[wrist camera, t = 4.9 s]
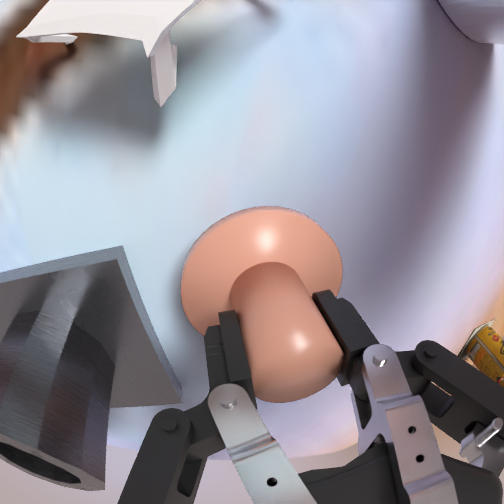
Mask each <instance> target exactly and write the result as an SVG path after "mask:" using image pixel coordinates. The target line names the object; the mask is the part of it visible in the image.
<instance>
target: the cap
mask: <svg viewBox="0 0 504 504" xmlns="http://www.w3.org/2000/svg"><path fill="white" fill-rule="evenodd" d="M341 281H342V260H341V257H340V253H339V251H338V249H337V247H336V244H335V243H334V242H333V240H332V239H331V237H330V236H329V235H328V234H327V233H326V232H325V231H324V230H323V229H322V228H321V227H320V226H319V225H318V224H317V223H316V222H315V221H314V220H312V219H311V218H309V217H308V216H306V215H304V214H302V213H300V212H298V211H295V210H292V209H289V208H284V207H278V206H262V207H253V208H249V209H244V210H241V211H238V212H235V213H233V214H230V215H228V216H226V217H224V218H222V219H221V220H219V221H218V222H216V223H215V224H213V225H212V226H210V227H209V228H208V229H207V230H206V231H205V232H204V233H203V234H202V235H201V236H200V237H199V238H198V239H197V240H196V242H195V243H194V244H193V246H192V248H191V249H190V251H189V253H188V255H187V257H186V259H185V262H184V266H183V269H182V277H181V300H182V305H183V309H184V311H185V314H186V316H187V318H188V320H189V321H190V323H191V324H192V325H193V327H194V328H195V329H196V330H197V331H198V332H199V333H200V334H202V335H203V336H204V335H205V333H206V330H207V328H208V327H209V326H214V325H220V322H219V315H218V312H222V311H228V310H233V309H235V311H236V316H237V320H238V324H239V328H240V332H241V337H242V341H243V345H244V349H245V353H246V357H247V361H248V365H249V369H250V373H251V377H252V382H253V388H254V394H255V396H256V397H257V398H259V399H261V400H263V401H266V402H273V403H284V402H291V401H296V400H299V399H303V398H305V397H308V396H310V395H313V394H315V393H317V392H318V391H320V390H322V389H323V388H325V387H326V386H328V385H329V384H330V383H331V382H332V381H333V380H334V379H335V378H336V377H337V376H338V375H339V373H340V371H341V367H342V363H343V359H344V353H343V352H342V350H341V348H340V346H339V344H338V343H337V341H336V339H335V337H334V336H333V334H332V332H331V330H330V329H329V327H328V325H327V323H326V322H325V320H324V318H323V316H322V315H321V313H320V311H319V309H318V308H317V306H316V304H315V303H314V301H313V299H312V294H313V293H315V292H319V291H323V290H328V289H330V290H331V291H332V293H333V294H334V296H335V297H337V295H338V292H339V289H340V286H341Z"/></svg>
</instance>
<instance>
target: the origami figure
mask: <svg viewBox="0 0 504 504" xmlns="http://www.w3.org/2000/svg"><path fill="white" fill-rule="evenodd" d="M200 1H201V0H50V1H49V2H48V3H47V4H46V5H45V6H44V7H43V8H42V10H41V11H40V12H39V13H38V14H37V15H36V17H35V18H34V19H33V20H32V21H31V23H30V24H29V25H28V26H27V28H25V29H24V30H23V31H22V32H21V33H20V34H19V35H17V36H16V37H20V38H25V39H28V40H29V41H31V42H65V44H66V45H68V44H70V43H72V42H73V41H74V40H75V39H76V38H77V36H73V35H68V34H69V33H80V32H84V33H94V34H103V35H111V36H118V37H124V38H130V39H135V40H141V41H142V42H143V45H144V48H145V52H146V55H147V58H148V57H150V60H151V74H152V83H153V92H154V99H155V100H156V102H157V103H158V104H159V106H160V107H162V106H163V104H164V103H165V102H166V100H167V99H168V98H169V96H170V95H171V94H172V92H173V91H174V90H175V89H176V73H177V50H178V47H177V46H176V45H174V44H172V45H171V41H170V31H169V29H170V28H171V27H172V26H173V25H174V24H175V23H176V22H177V21H178V20H179V19H180V18H182V17H183V16H184V15H185V14H186V13H187V12H188V11H189V10H190V9H191V8H193V7H194V6H195V5H196V4H197V3H198V2H200Z"/></svg>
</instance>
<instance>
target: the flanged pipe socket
mask: <svg viewBox="0 0 504 504" xmlns="http://www.w3.org/2000/svg"><path fill="white" fill-rule="evenodd" d="M174 403H182V388H181V386H180V384H179V382H178V380H177V378H176V376H175V374H174V372H173V370H172V368H171V366H170V364H169V362H168V360H167V358H166V356H165V353H164V351H163V349H162V347H161V345H160V342H159V340H158V338H157V336H156V333H155V331H154V329H153V326H152V324H151V322H150V319H149V317H148V314H147V312H146V309H145V307H144V304H143V302H142V299H141V297H140V294H139V291H138V289H137V286H136V283H135V281H134V278H133V275H132V272H131V269H130V267H129V264H128V261H127V258H126V255H125V252H124V249H123V246H118V247H114V248H109V249H104V250H99V251H94V252H89V253H85V254H80V255H76V256H71V257H66V258H62V259H57V260H53V261H49V262H44V263H40V264H36V265H31V266H27V267H23V268H19V269H14V270H10V271H6V272H2V273H0V458H1V459H2V460H4V461H5V462H7V463H9V464H11V465H13V466H14V467H16V468H18V469H20V470H22V471H24V472H26V473H28V474H30V475H32V476H35V477H38V478H40V479H43V480H46V481H49V482H51V483H54V484H58V485H61V486H65V487H69V488H75V489H80V490H86V491H96V490H105V464H106V444H107V431H108V419H109V410H110V408H114V407H138V406H153V405H164V404H174Z"/></svg>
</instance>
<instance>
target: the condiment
mask: <svg viewBox="0 0 504 504" xmlns="http://www.w3.org/2000/svg"><path fill="white" fill-rule="evenodd" d="M494 320H495V319H494ZM494 320H492V321H489V322H487V323H486V324H483V325H482V326H481V327H478V328H476V329H475V331H474V332H473V334H472V335H471V337H470V338H469V340H468V341H467V343H466V345H465V346H464V348H463V350H462V352H461V354H460V355H459V356H458V357H459V358H461V359H463V360H464V359H466V358H468V357H469V358H470V359H471V360H472V362H473V363H474V364H475V365H476V367H477V368H478V369H479V370H480V372H482V373H483V374H485V375H486V376H488V377H489V378H491V379H492V380H494V381H495V382H497V383H498V384H500V385H501V386H503V387H504V341H503V340H502V339H501V337H500V336H499V335H498V334H497V333H496V332H495V331H494V330H493V329H492V328H491V325H492V323H493V322H494Z"/></svg>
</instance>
